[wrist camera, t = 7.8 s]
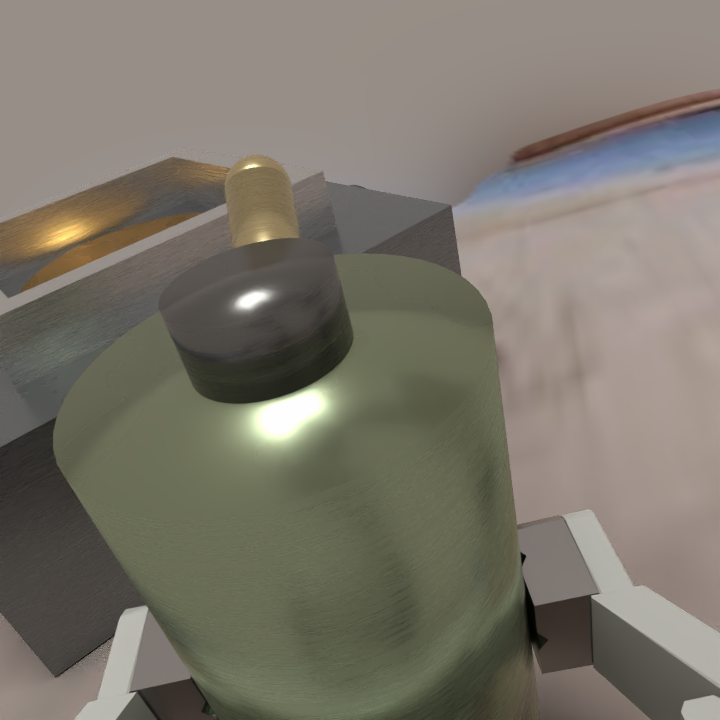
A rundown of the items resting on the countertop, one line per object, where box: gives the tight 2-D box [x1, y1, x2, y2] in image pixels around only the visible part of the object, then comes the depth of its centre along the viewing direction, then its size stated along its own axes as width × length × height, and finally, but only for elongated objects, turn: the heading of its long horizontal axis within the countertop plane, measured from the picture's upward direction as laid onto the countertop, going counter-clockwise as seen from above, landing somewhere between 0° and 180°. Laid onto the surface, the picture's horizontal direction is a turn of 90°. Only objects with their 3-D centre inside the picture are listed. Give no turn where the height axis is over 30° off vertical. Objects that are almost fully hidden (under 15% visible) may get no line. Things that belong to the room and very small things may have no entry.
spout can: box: [53, 155, 540, 720], centre depth 11 cm, size 6×5×13 cm
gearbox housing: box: [0, 147, 462, 677], centre depth 25 cm, size 19×16×9 cm
